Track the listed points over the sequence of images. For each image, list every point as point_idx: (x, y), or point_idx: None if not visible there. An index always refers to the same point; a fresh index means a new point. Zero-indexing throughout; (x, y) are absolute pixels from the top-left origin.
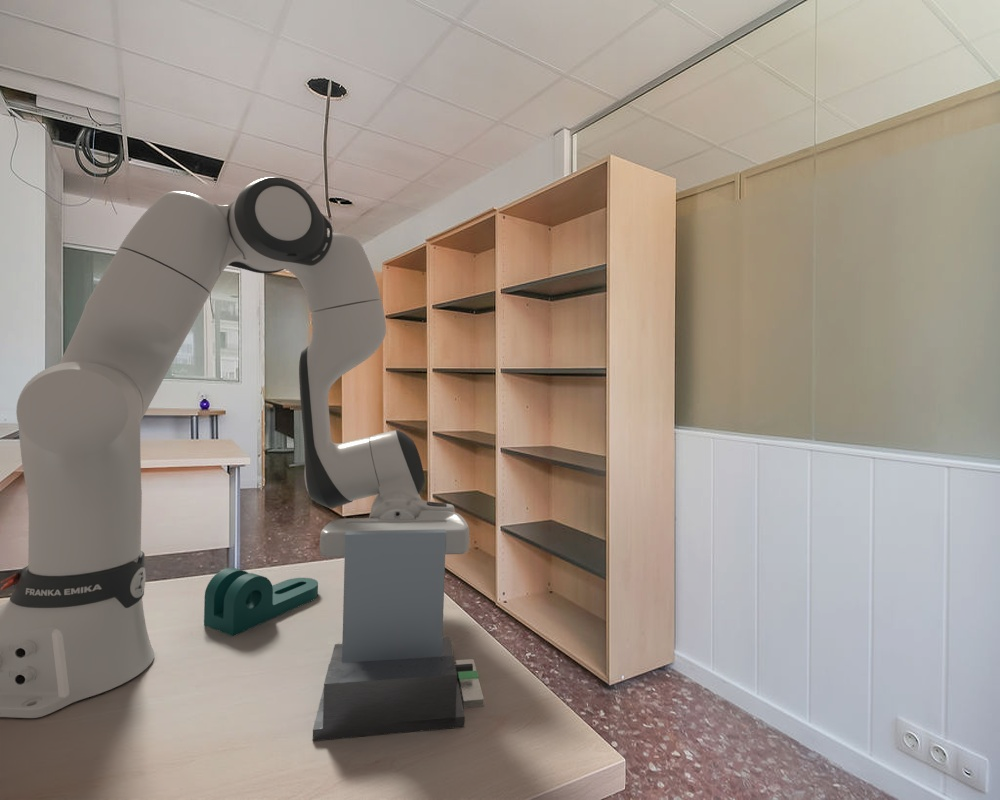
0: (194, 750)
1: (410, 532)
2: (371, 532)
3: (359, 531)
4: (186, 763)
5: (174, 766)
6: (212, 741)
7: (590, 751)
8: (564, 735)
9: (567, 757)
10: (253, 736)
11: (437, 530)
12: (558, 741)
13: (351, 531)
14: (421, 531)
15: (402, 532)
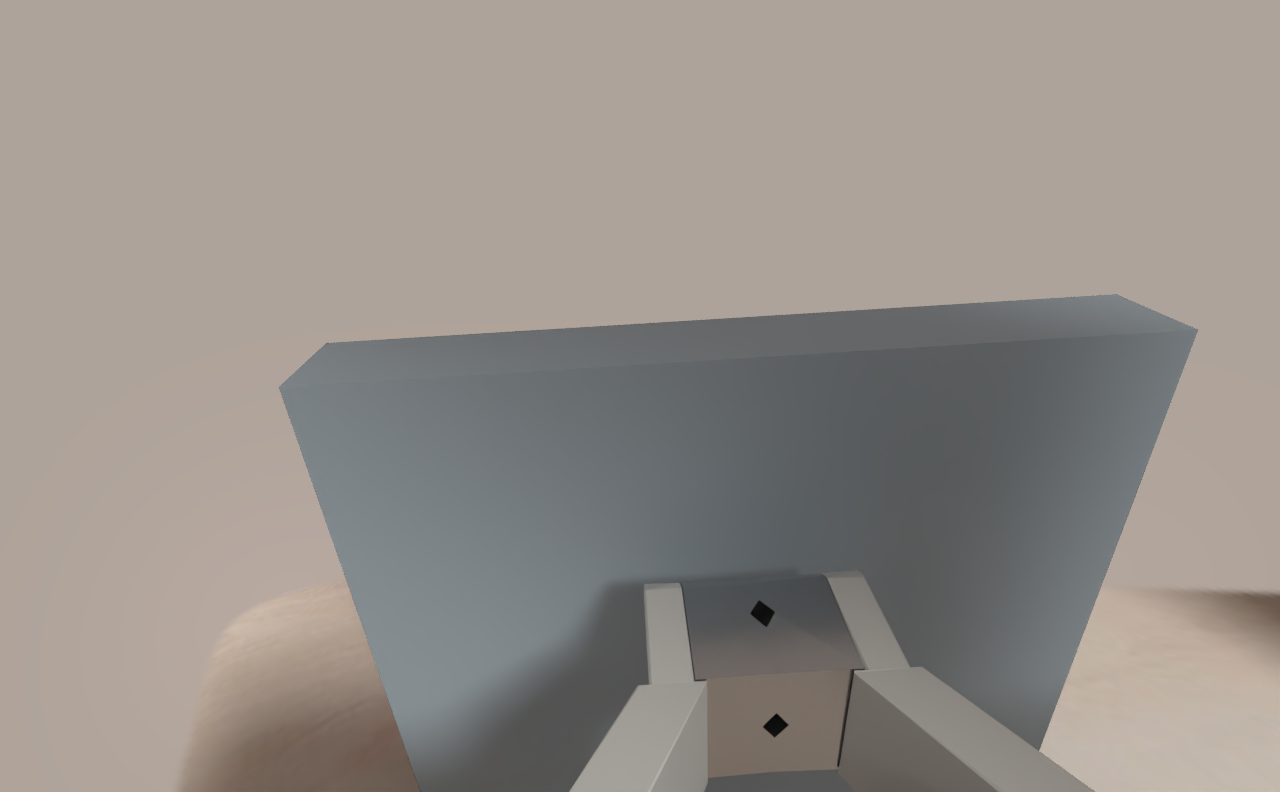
0: (1168, 681)
1: (612, 335)
2: (940, 321)
3: (1068, 331)
4: (1136, 645)
5: (1154, 638)
6: (1159, 709)
7: (247, 634)
8: (259, 681)
9: (308, 622)
10: (1062, 721)
11: (367, 365)
12: (289, 664)
13: (1137, 324)
14: (516, 351)
15: (679, 333)
